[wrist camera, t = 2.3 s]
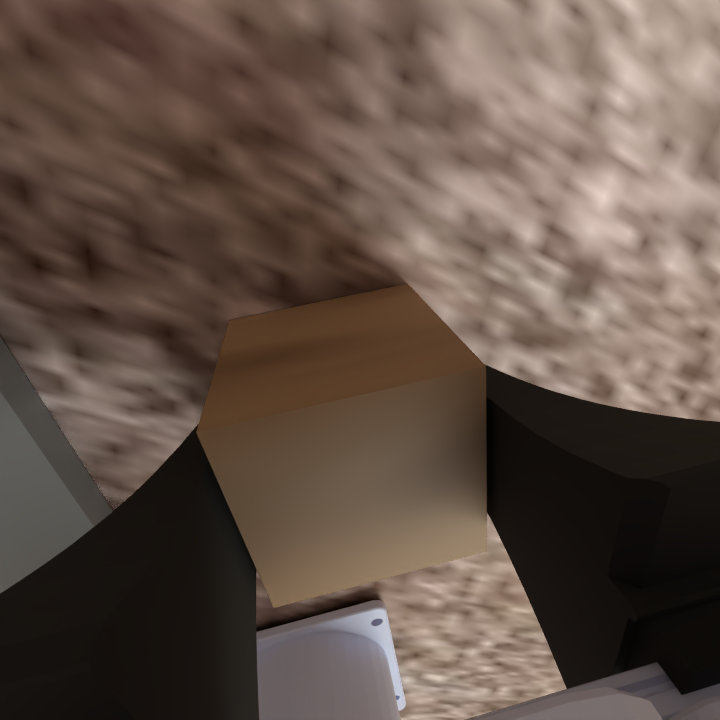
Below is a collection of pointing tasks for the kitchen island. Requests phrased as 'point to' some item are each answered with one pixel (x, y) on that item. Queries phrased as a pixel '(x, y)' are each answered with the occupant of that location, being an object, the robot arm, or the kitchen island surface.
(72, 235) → the kitchen island surface
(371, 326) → the cube
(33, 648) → the robot arm
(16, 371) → the board
